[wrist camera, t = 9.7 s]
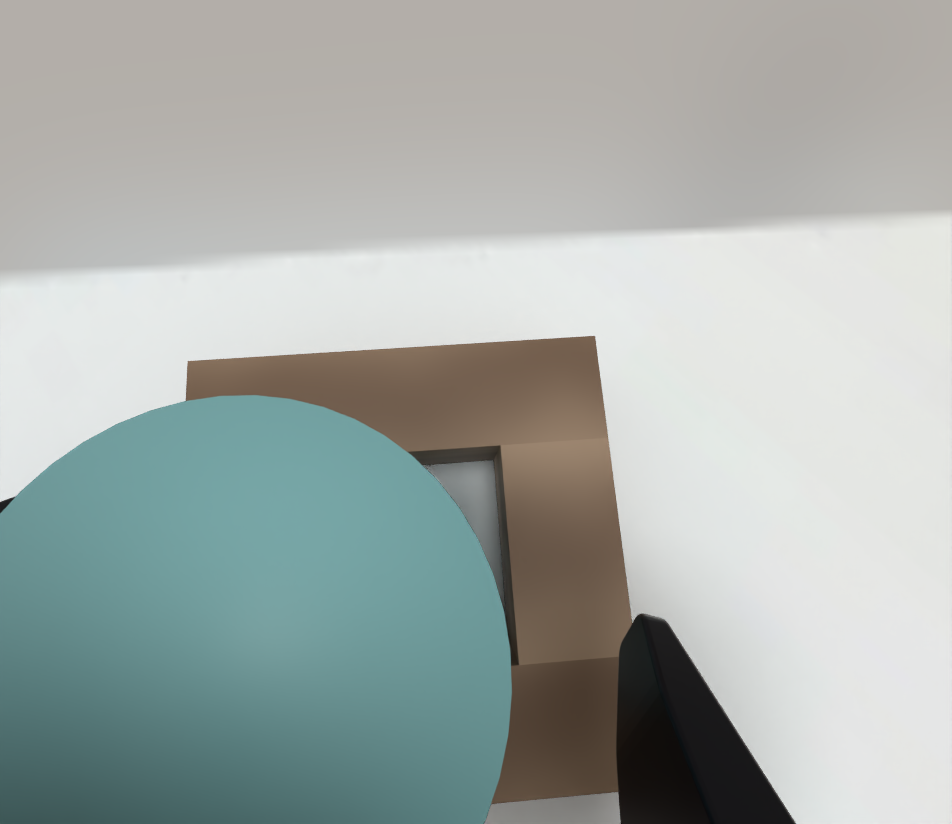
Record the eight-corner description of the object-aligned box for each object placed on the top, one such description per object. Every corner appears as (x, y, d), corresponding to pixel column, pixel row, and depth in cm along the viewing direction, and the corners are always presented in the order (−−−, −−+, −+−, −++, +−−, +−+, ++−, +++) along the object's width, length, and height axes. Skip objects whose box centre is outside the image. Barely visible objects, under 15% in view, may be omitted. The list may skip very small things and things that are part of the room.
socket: (613, 731, 16) (653, 788, 13) (230, 766, 16) (164, 834, 12) (570, 370, 19) (594, 335, 15) (240, 391, 18) (187, 361, 15)
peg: (495, 578, 17) (621, 819, 3) (387, 638, 17) (13, 1208, 3) (440, 472, 18) (360, 309, 4) (336, 527, 17) (-160, 553, 4)
